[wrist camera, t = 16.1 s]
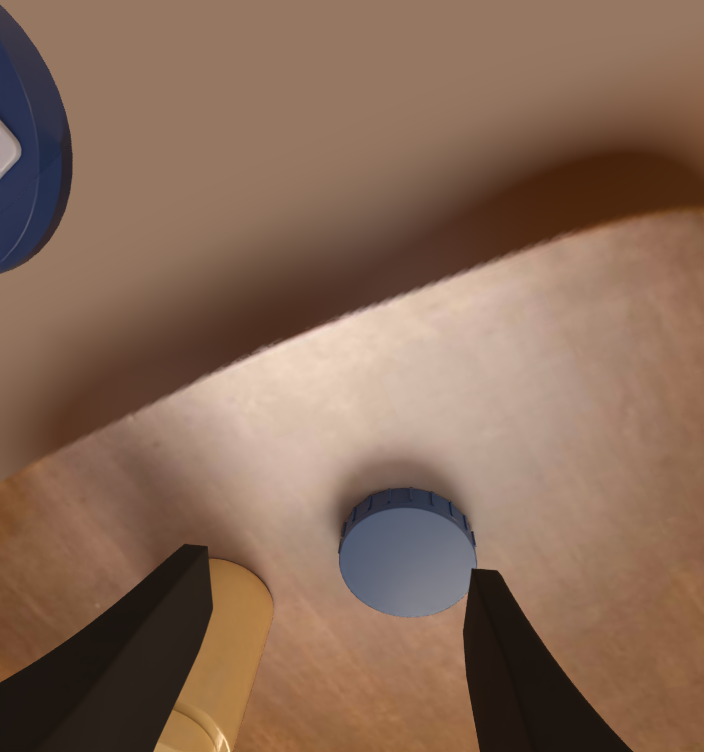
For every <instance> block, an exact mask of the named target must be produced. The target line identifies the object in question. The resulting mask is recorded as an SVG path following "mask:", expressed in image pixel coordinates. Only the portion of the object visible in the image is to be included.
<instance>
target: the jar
mask: <svg viewBox="0 0 704 752" xmlns="http://www.w3.org/2000/svg"><path fill="white" fill-rule="evenodd" d="M209 568H210V578H211V589H212V599H213V612H212V615H211V618H210V621H209V624H208V628H207V631H206V634H205V637H204V640H203V642H202V645H201V648H200V651H199V653H198V655H197V658H196V660H195V662H194V664H193V666H192V669H191V671H190V673H189V675H188V677H187V680H186V682H185V684H184V686H183V688H182V690H181V692H180V695H179V697H178V699H177V701H176V703H175V705H174V708H173V710H172V712H171V714H170V716H169V718H168V720H167V723H166V725H165V727H164V729H163V731H162V733H161V736H160V738H159V740H158V742H157V744H156V747H155V749H154V752H234V748H235V745H236V742H237V738H238V735H239V731H240V728H241V725H242V721H243V718H244V715H245V711H246V708H247V704H248V701H249V698H250V694H251V691H252V688H253V684H254V681H255V677H256V674H257V671H258V667H259V664H260V661H261V657H262V654H263V650H264V647H265V644H266V640H267V637H268V634H269V630H270V627H271V623H272V620H273V615H274V606H273V601H272V598H271V595H270V593H269V591H268V589H267V588H266V586H265V585H264V583H263V582H262V581H261V580H260V579H259V578H258V577H257V576H256V575H254V574H253V573H252V572H250V571H249V570H248V569H246V568H244V567H242V566H240V565H238V564H235V563H233V562H230V561H226V560H221V559H213V558H209Z"/></svg>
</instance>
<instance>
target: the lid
mask: <svg viewBox="0 0 704 752" xmlns="http://www.w3.org/2000/svg"><path fill="white" fill-rule="evenodd" d="M474 547H476V543H475V538H474V533H473V531H471V529H470V527H469V524H468V522H467V519H466V516H465V515H462V513H461V512H460V511H459V510H458V509H457V508H456V507H455V506H454V505H453V504H452V502H451V501H450V502H448V501H447V500H446V499H444V498H442V497H440V496H438V495H436V494H434V492H432V491H431V492H427V491H423V490H418V489H412V487H410V489H409V488H401V489H392V490H391V489H388V490H387V491H384V492H380V493H377V494H375V495H373V496H371V495H370V496H369V498H368V499H366V500H365V501H363V502H362V503H361V504H360V505H358V506H357V507H354V508H353V512H352V513H351V515H350V516H349V518H348V520H347V522H344V525H343V531H342V538H341V539H340V545H339V551H338V554H339V566H340V571H341V574H342V577H343V579H344V581H345V583H346V585H347V586H348V588H349V589H350V590H351V592H352V593H353V594H354V595H355V596H356V597H357V598H358V599H359V600H361V601H362V602H363V603H365V604H366V605H368V606H369V607H371V608H373V609H375V610H377V611H380V612H383V613H385V614H389V615H393V616H399V617H422V616H428V615H432V614H436V613H439V612H441V611H444V610H446V609H448V608H450V607H451V606H453V605H454V604H456V603H457V602H458V601H459V600H460V599H462V598H463V596H464V595H465V594H466V593H467V592H468V590H469V584H470V577H471V569H472V568H474V569H476V568H477V559H476V553H475V548H474Z"/></svg>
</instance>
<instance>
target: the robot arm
mask: <svg viewBox="0 0 704 752" xmlns="http://www.w3.org/2000/svg"><path fill="white" fill-rule="evenodd" d="M21 151H22V149H21V146H20V143H19V142H18V140H17V138H16V137H15V136H14V135H13V134H12V133H11V131H10V130H9V129H8V128H7V127H6V126H5V124H4V123H3V122H2V121H1V120H0V179H1V178H2V177H3V176H4V174H5V173H6V172H7V171H8V170H9V169H10V168H11V167H12V166H13V165H14V164H15V163H16V162H17V161H18V160H19V158H20V156H21ZM212 612H213V599H212V589H211V578H210V568H209V557H208V547H207V546H200V545H188V544H184V545H183V546H181V547H180V548H179V549H178V550H177V551H176V552H174V553H173V554H172V555H171V556H170V557H169V558H167V559H166V560H165V561H164V562H163V563H162V564H161V565H160V566H158V567H157V568H156V569H155V570H154V571H153V572H152V573H151V574H149V575H148V576H147V577H146V578H145V579H144V580H143V581H141V582H140V583H139V584H138V585H137V586H136V587H134V588H133V589H132V590H131V591H130V592H128V593H127V594H126V595H125V596H124V597H123V598H121V599H120V600H119V601H118V602H117V603H115V604H114V605H113V606H112V607H110V608H109V609H108V610H107V611H105V612H104V613H103V614H102V615H100V616H99V617H98V618H96V619H95V620H94V621H93V622H91V623H90V624H89V625H87V626H86V627H85V628H84V629H82V630H81V631H80V632H78V633H77V634H75V635H74V636H73V637H71V638H70V639H68V640H67V641H66V642H64V643H63V644H61V645H60V646H58V647H57V648H55V649H54V650H52V651H51V652H49V653H48V654H46V655H45V656H43V657H42V658H40V659H39V660H37V661H36V662H34V663H32V664H31V665H29V666H28V667H26V668H24V669H22V670H21V671H19V672H17V673H16V674H14V675H12V676H11V677H9V678H7V679H6V680H4V681H2V682H1V683H0V752H154V749H155V747H156V744H157V742H158V740H159V738H160V736H161V733H162V731H163V729H164V727H165V725H166V723H167V720H168V718H169V716H170V714H171V712H172V710H173V708H174V705H175V703H176V701H177V699H178V697H179V695H180V692H181V690H182V688H183V686H184V684H185V682H186V680H187V677H188V675H189V673H190V671H191V669H192V666H193V664H194V662H195V660H196V658H197V655H198V653H199V651H200V648H201V645H202V642H203V640H204V637H205V634H206V631H207V628H208V624H209V621H210V618H211V615H212ZM463 639H464V653H465V666H466V677H467V683H468V688H469V694H470V699H471V705H472V711H473V716H474V722H475V727H476V732H477V738H478V743H479V749H480V752H633V751H632V750H631V749H630V748H629V747H628V746H627V745H626V744H625V743H624V742H623V741H622V740H621V739H620V738H619V736H618V735H617V734H616V733H615V732H614V731H613V730H612V729H611V728H610V727H609V726H608V724H607V723H606V722H605V721H604V720H603V719H602V718H601V717H600V715H599V714H598V713H597V712H596V711H595V710H594V708H593V707H592V706H591V705H590V704H589V703H588V701H587V700H586V699H585V698H584V697H583V695H582V694H581V693H580V692H579V690H578V689H577V688H576V687H575V685H574V684H573V683H572V682H571V680H570V679H569V678H568V676H567V675H566V674H565V672H564V671H563V670H562V668H561V667H560V666H559V664H558V663H557V662H556V660H555V659H554V658H553V656H552V655H551V653H550V652H549V651H548V649H547V648H546V646H545V645H544V643H543V642H542V640H541V639H540V637H539V636H538V635H537V633H536V632H535V630H534V629H533V627H532V626H531V624H530V623H529V621H528V619H527V618H526V616H525V615H524V613H523V611H522V610H521V608H520V607H519V605H518V603H517V602H516V600H515V598H514V597H513V595H512V593H511V592H510V590H509V588H508V586H507V585H506V583H505V581H504V579H503V577H502V575H501V574H500V573H499V572H498V571H497V570H486V569H474V568H472V569H471V577H470V584H469V591H468V599H467V606H466V614H465V621H464V629H463Z"/></svg>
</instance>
